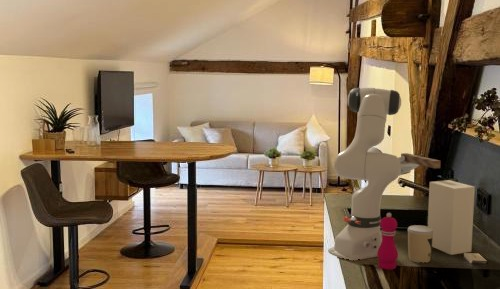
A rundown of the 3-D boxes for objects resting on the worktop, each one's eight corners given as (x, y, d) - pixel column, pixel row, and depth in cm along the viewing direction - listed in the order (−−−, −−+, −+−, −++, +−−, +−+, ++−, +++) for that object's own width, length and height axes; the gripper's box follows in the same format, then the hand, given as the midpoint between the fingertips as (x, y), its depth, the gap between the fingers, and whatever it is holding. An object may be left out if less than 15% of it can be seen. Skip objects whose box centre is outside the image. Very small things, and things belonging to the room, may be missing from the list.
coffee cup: (433, 264, 202) (435, 232, 201) (407, 262, 204) (408, 231, 202) (430, 256, 211) (432, 225, 210) (405, 254, 213) (406, 224, 211)
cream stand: (471, 251, 216) (474, 186, 213) (450, 254, 213) (454, 188, 209) (446, 241, 229) (449, 180, 226) (426, 244, 226) (429, 181, 222)
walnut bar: (440, 168, 226) (440, 160, 225) (434, 168, 225) (434, 161, 224) (406, 159, 246) (406, 153, 245) (400, 160, 245) (401, 153, 244)
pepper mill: (391, 271, 195) (393, 216, 192) (373, 266, 199) (374, 212, 197) (401, 266, 200) (403, 212, 197) (383, 261, 205) (384, 209, 202)
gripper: (371, 162, 251) (387, 151, 239) (408, 160, 258) (425, 149, 246) (374, 176, 249) (391, 165, 237) (412, 172, 256) (429, 162, 244)
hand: (409, 156), depth 242 cm, fingers closed on walnut bar, 3 cm apart
